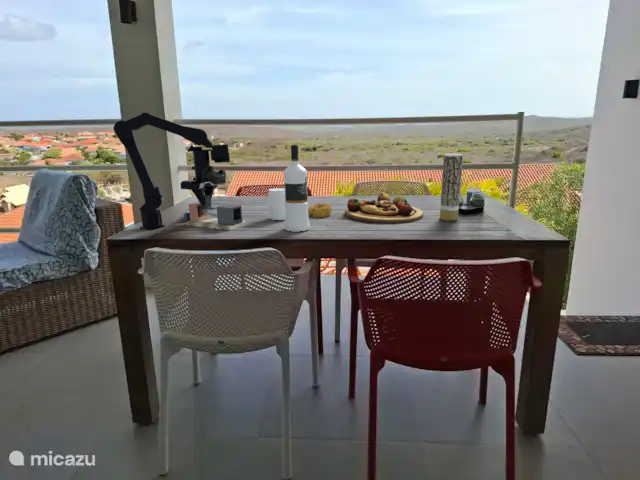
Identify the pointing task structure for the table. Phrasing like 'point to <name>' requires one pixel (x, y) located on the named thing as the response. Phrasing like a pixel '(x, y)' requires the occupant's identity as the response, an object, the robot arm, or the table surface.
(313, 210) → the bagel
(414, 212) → the wooden plate with food
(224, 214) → the sleeve
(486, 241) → the table surface
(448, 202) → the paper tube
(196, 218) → the socket
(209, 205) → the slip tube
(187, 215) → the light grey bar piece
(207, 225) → the base board
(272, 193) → the beverage can
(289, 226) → the vodka
